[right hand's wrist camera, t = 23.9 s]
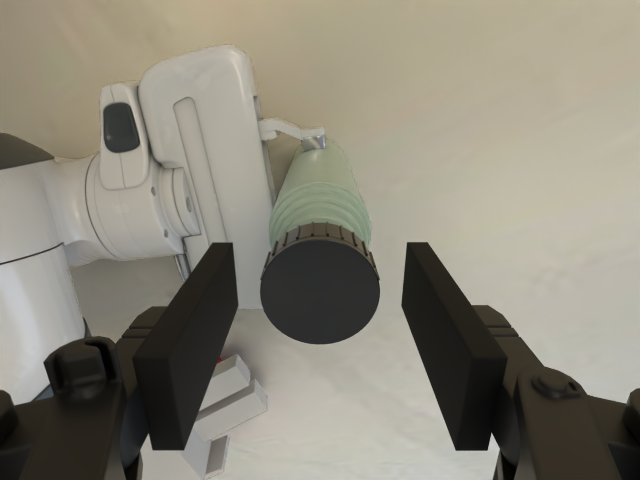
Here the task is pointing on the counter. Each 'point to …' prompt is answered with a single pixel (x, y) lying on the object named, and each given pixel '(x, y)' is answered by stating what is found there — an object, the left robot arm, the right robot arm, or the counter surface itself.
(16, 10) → the counter surface
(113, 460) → the right robot arm
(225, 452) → the toy
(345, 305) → the cap
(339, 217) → the bottle
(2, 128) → the counter surface
